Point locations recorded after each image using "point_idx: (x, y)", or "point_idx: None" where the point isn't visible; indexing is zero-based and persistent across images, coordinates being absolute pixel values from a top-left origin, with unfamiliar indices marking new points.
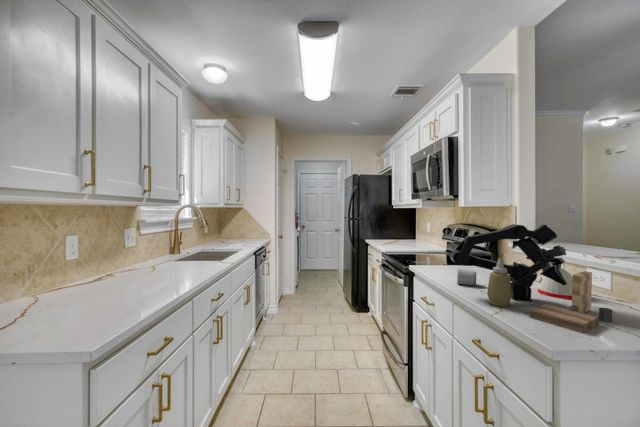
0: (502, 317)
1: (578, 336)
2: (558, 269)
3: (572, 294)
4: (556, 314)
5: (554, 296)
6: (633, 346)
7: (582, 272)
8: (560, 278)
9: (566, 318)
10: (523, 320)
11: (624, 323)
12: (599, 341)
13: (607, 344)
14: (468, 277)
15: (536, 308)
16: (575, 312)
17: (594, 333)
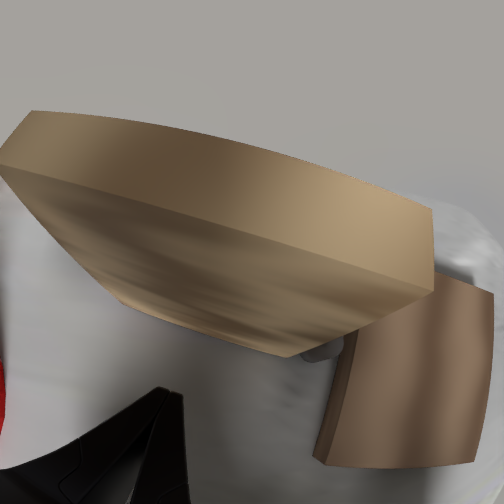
0: (491, 492)
1: (497, 309)
2: (36, 502)
3: (322, 342)
4: (463, 382)
5: (2, 406)
6: (455, 206)
7: (89, 169)
8: (186, 460)
9: (478, 344)
10: (486, 452)
11: None
12: (488, 267)
13: (488, 253)
14: None
15: (441, 461)
16: (382, 331)
17: (451, 276)
